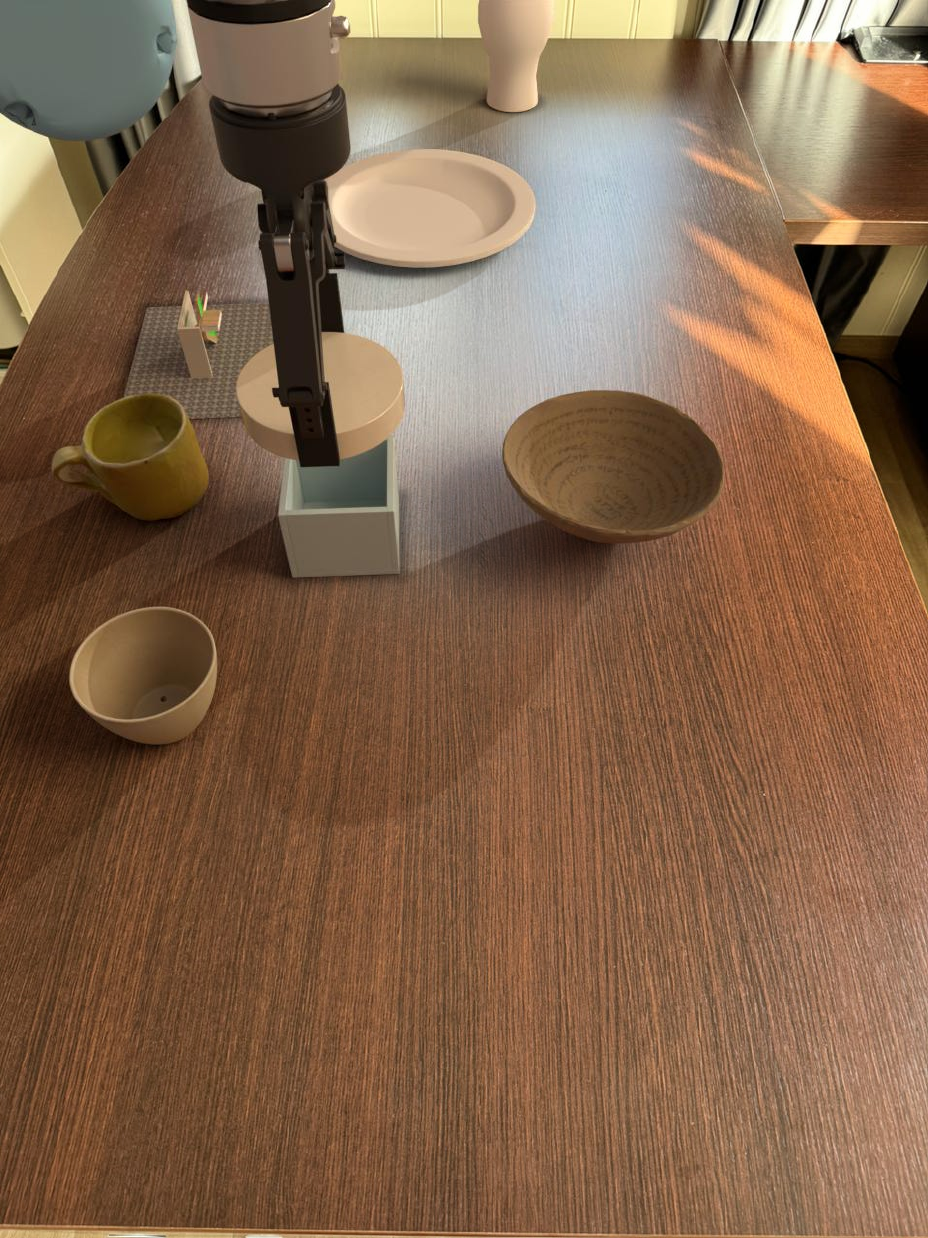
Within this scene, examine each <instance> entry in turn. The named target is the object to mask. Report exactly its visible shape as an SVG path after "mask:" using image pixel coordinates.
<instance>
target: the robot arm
mask: <svg viewBox="0 0 928 1238" xmlns="http://www.w3.org/2000/svg"><path fill="white" fill-rule="evenodd" d="M185 2H186V6H187V10H188V16H189V22H190V26H191V31H192V37H193V40H194V46H195V52H196V55H197V60H198V65H199V70H200V76H201V79H202V83H203V87H204V89H206V91H207V92H209V94H210V95H212V96H211V97H210V99H209V102H208V107H209V113H210V118H211V123H212V127H213V132H214V136H215V141H216V145H217V150H218V155H219V159H220V162H221V165H222V166H223V168H224V169H225V170H226V172H227V173H229V175H230V176H232V177H233V178H235V179H237V180H239V181H240V182H243V183H245V184H249V185H252V186H254V187H256V188H258V189H259V190H261V191H260V192H261V199H262V202H261V203H257V205H256V206H257V207H256V209H257V211H256V212H257V213H256V214H257V223H258V224H257V225H258V229H259V231H260V233H259V240H258V242H257V243H258V244H257V246H258V250H259V251H260V254H261V260H262V266H263V271H264V276H265V283H266V289H267V299H268V303H269V309H270V317H271V326H272V334H273V342H274V351H275V359H276V368H277V376H278V384H279V388H272V393H273V397H274V398H278V397H279V401H280V404H281V406H282V407H289V412H290V417H291V422H292V427H293V432H294V437H295V442H296V448H297V453H298V458H299V463H300V467H327V466H340V456H339V449H338V442H337V436H336V429H335V422H334V415H333V408H332V402H331V395H330V388H329V382H325V377H324V362H323V347H322V332H339V333H345V327H344V326H345V325H344V318H343V309H342V302H341V293H340V285H339V277H338V273H337V272H331V271H330V270H346V265H347V264H346V254H345V253H346V252H344V251H334V249H335V248H336V247H335V243H336V242H337V239H336V235H335V234H334V229H333V223H332V218H331V212H330V207H329V198H328V185H327V182H326V181H325V180H326V179H327V178H328V177H330V176H332V175H334V174H335V173H337V172H338V171H339V170H340V169H341V168H343V167H345V166H346V164H347V162H348V160H349V159H350V156H351V147H352V146H351V137H350V127H349V118H348V117H349V116H348V108H347V98H346V92H345V90H344V89H343V87H342V86H341V85H340V84H339V83H340V81H341V79H342V76H343V67H342V66H343V65H342V57H341V55H342V54H341V46H340V41H339V39H345V38H347V37H349V35H351V24H350V21H349V20H348V18H347V16H344V15H336V16H334V12H335V10H336V0H185ZM177 43H178V35H177V24H176V17H175V11H174V5H173V1H172V0H0V115H2V116H4V117H5V118H6V119H8V120H9V121H11V122H12V123H15V124H16V125H19V126H20V127H22V128H24V129H26V130H29V131H31V132H33V133H36V134H38V135H40V136H44V137H46V138H49V139H55V140H59V141H67V142H91V141H97V140H101V139H106V138H109V137H111V136H115V135H117V134H120V133H121V132H124V131H125V130H128V129H129V128H131V127H132V126H134V125H135V124H137V123H138V122H139V121H141V120H142V119H143V118H144V117H145V116H146V115H148V114H149V112H150V111H151V110H152V109H153V107H155V105H156V103H157V102H158V101H159V99H160V98H161V96H162V94H163V92H164V90H165V88H166V86H167V85H168V81H169V80H170V79H169V78H170V76H171V73H172V71H173V70H172V69H173V65H174V60H175V57H176V56H175V55H176V47H177Z"/></svg>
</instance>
